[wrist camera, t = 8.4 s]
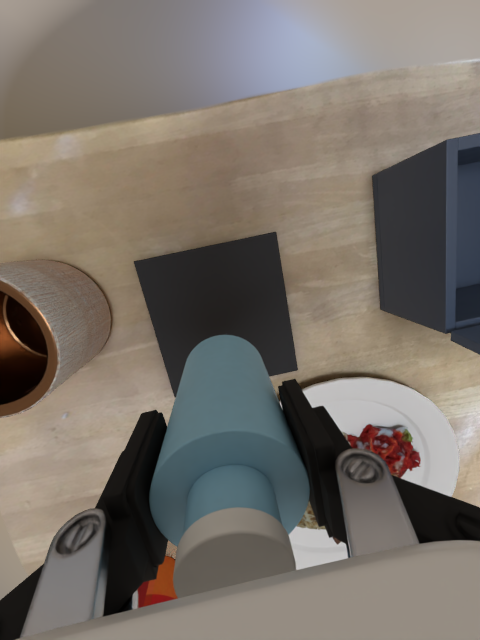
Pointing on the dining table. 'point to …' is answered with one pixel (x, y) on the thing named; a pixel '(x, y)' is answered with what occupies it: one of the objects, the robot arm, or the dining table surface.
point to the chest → (431, 235)
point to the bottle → (228, 472)
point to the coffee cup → (158, 586)
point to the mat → (219, 301)
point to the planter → (46, 329)
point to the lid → (468, 338)
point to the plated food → (380, 447)
